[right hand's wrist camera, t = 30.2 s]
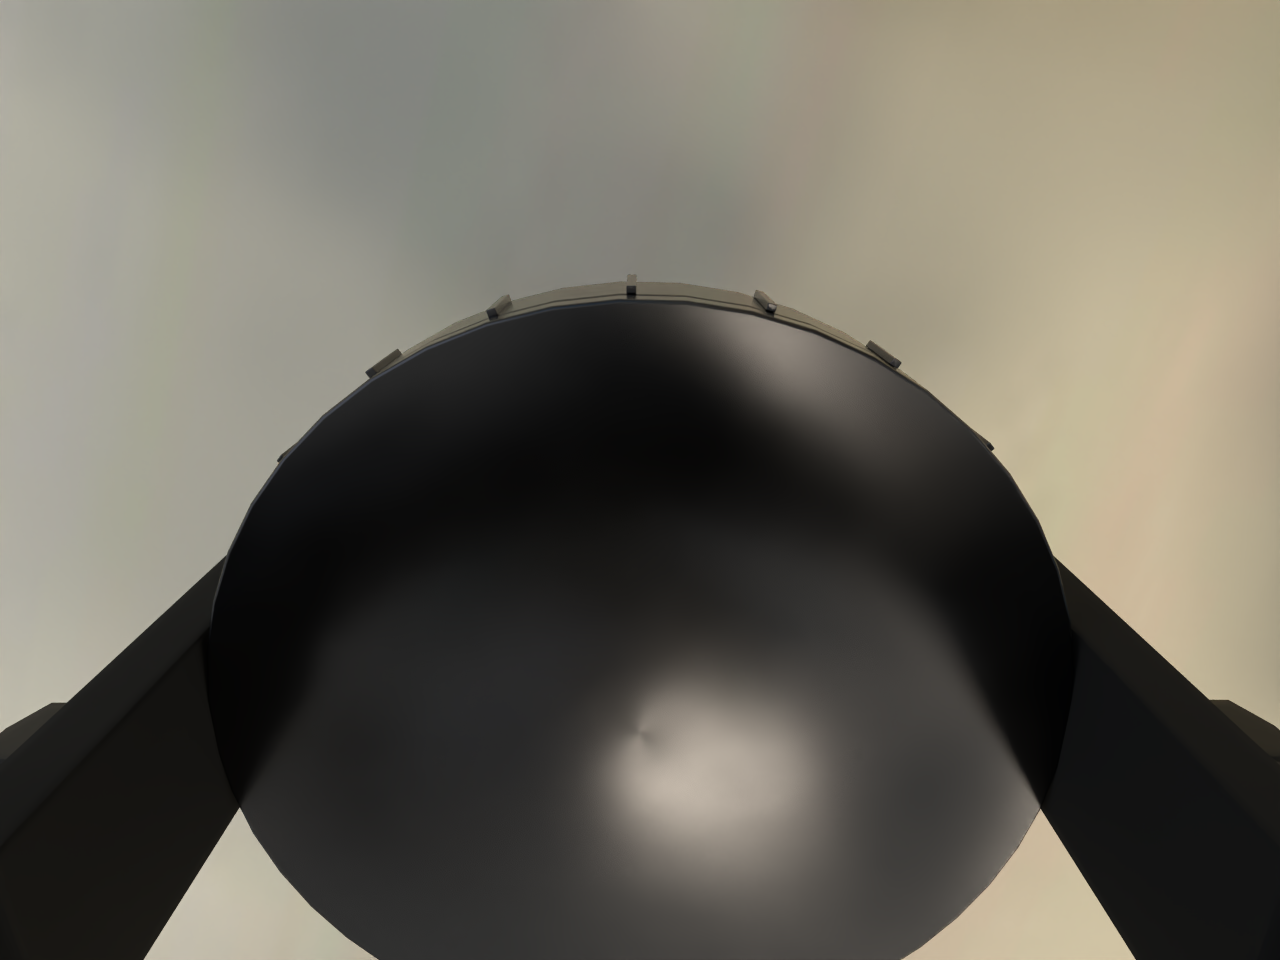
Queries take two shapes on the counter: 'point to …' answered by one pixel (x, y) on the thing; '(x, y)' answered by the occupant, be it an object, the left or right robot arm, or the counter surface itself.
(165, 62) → the counter surface
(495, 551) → the lid
